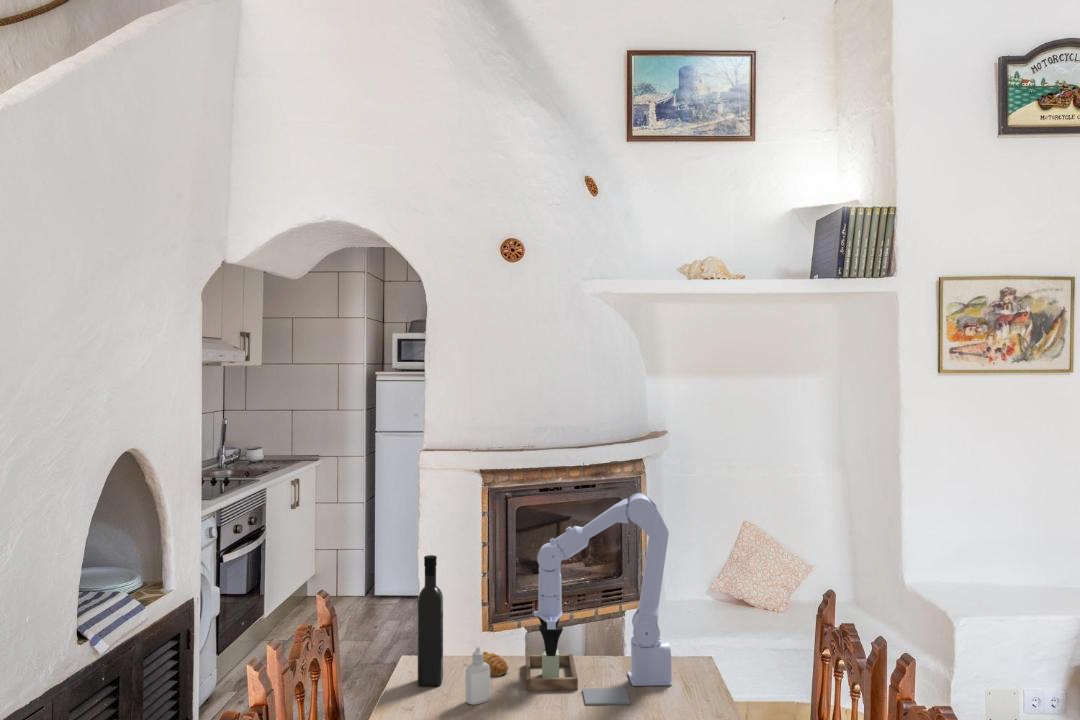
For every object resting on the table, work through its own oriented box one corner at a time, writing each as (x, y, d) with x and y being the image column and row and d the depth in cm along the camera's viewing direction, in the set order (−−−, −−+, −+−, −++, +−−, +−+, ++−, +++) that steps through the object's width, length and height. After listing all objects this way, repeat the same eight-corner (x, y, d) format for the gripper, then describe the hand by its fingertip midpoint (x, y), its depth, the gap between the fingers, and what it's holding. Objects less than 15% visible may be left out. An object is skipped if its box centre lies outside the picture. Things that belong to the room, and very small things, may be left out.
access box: (572, 664, 186) (572, 654, 186) (577, 689, 170) (577, 678, 171) (525, 664, 186) (525, 655, 186) (526, 690, 170) (526, 679, 170)
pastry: (515, 672, 182) (514, 656, 182) (495, 680, 177) (495, 664, 177) (489, 662, 188) (489, 647, 188) (469, 670, 183) (469, 655, 184)
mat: (625, 689, 170) (625, 687, 170) (630, 704, 162) (630, 702, 162) (582, 690, 170) (582, 688, 170) (585, 705, 162) (585, 703, 162)
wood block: (558, 673, 180) (558, 649, 181) (559, 680, 176) (559, 654, 177) (542, 674, 180) (542, 649, 180) (542, 680, 176) (542, 655, 176)
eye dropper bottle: (491, 704, 163) (490, 649, 163) (465, 705, 162) (465, 651, 163) (489, 696, 167) (489, 643, 168) (465, 697, 166) (465, 644, 167)
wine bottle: (443, 677, 178) (443, 553, 179) (441, 687, 173) (440, 558, 174) (420, 678, 178) (420, 553, 179) (416, 687, 172) (416, 559, 174)
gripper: (533, 586, 186) (533, 640, 186) (534, 602, 172) (534, 661, 171) (560, 585, 186) (560, 639, 186) (564, 602, 172) (564, 660, 171)
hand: (550, 650), depth 178 cm, fingers open, 7 cm apart
